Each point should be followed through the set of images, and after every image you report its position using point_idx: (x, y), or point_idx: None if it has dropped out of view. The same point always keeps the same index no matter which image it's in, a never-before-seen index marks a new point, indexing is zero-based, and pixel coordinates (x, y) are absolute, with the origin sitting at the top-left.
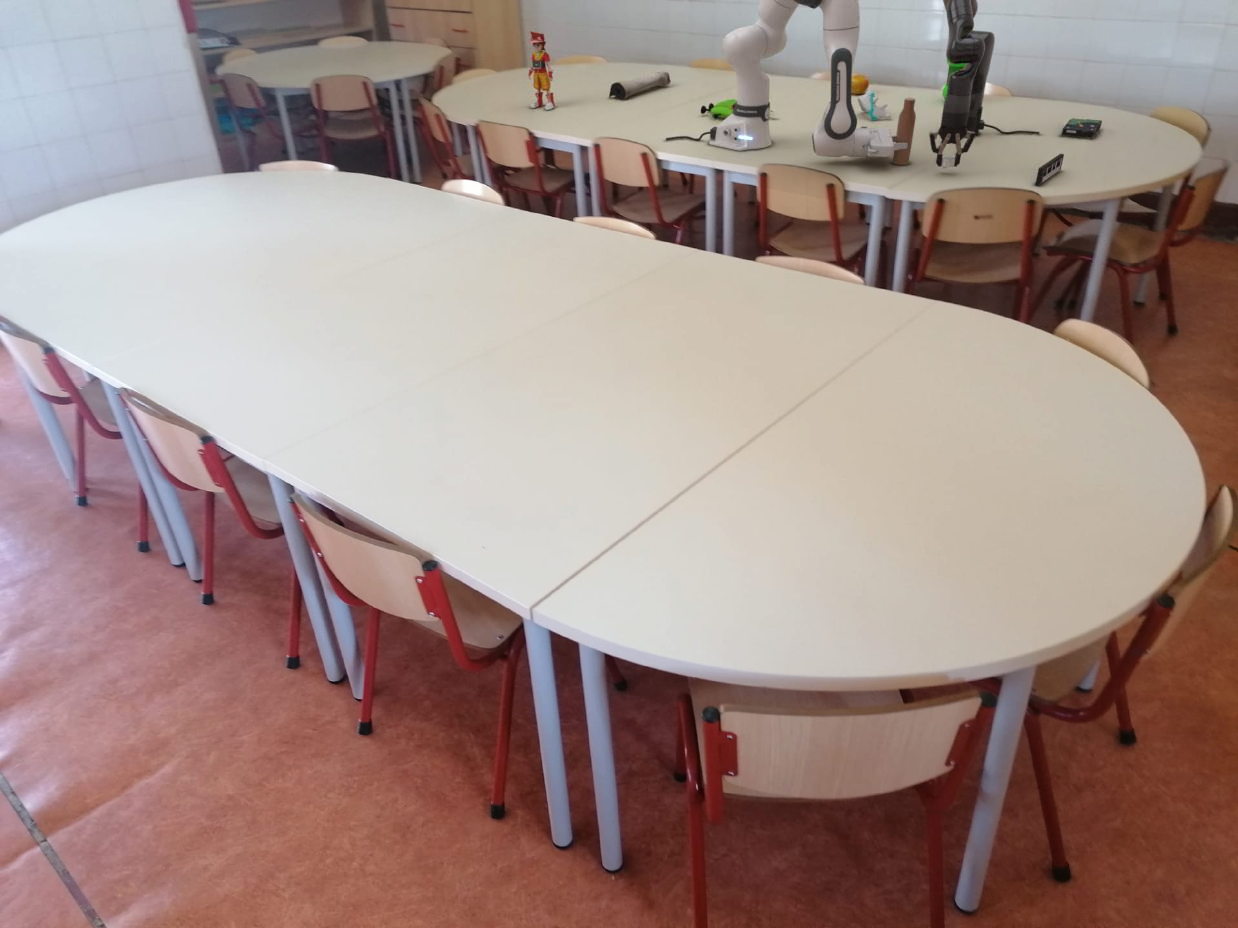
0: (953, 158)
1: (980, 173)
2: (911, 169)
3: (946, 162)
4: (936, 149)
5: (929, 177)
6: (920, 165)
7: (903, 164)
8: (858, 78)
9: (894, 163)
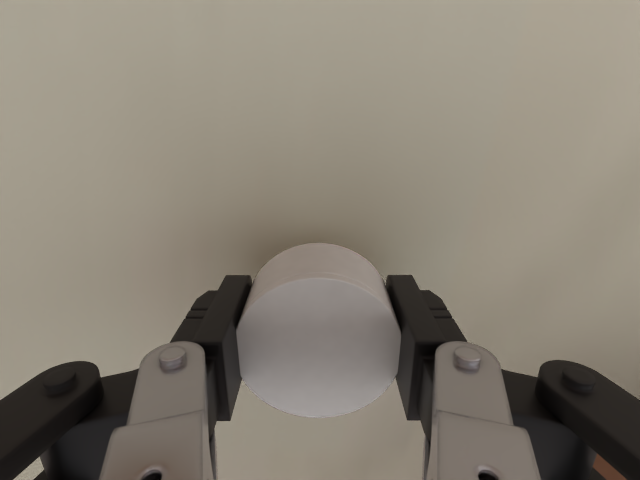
0: (261, 339)
1: (45, 279)
2: None
3: (348, 269)
4: (564, 404)
5: (474, 181)
6: None
7: None
8: None
9: None
